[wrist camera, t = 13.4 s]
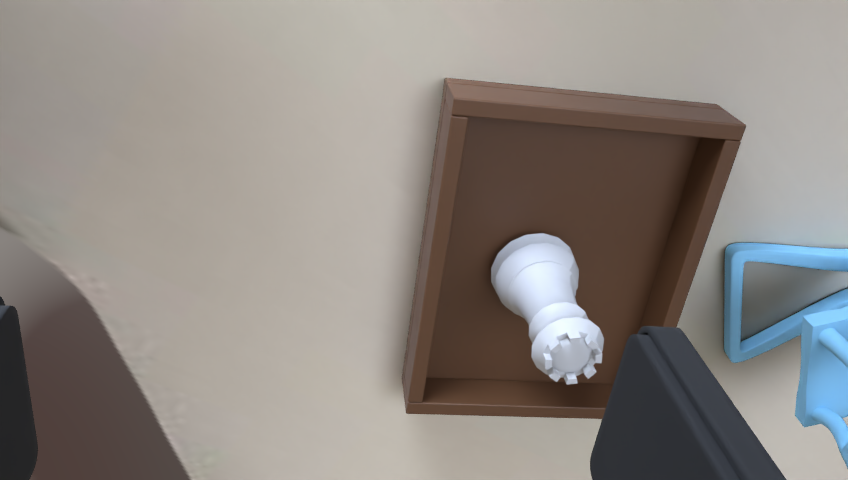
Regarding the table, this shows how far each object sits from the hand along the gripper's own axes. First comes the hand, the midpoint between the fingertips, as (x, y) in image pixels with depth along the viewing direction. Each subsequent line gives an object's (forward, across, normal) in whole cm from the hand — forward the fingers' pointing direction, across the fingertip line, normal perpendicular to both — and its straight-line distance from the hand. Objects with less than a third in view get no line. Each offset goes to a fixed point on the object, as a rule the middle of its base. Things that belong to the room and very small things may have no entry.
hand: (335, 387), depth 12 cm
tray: (+24, -12, +10) cm, 29 cm away
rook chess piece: (+24, -11, +11) cm, 28 cm away
